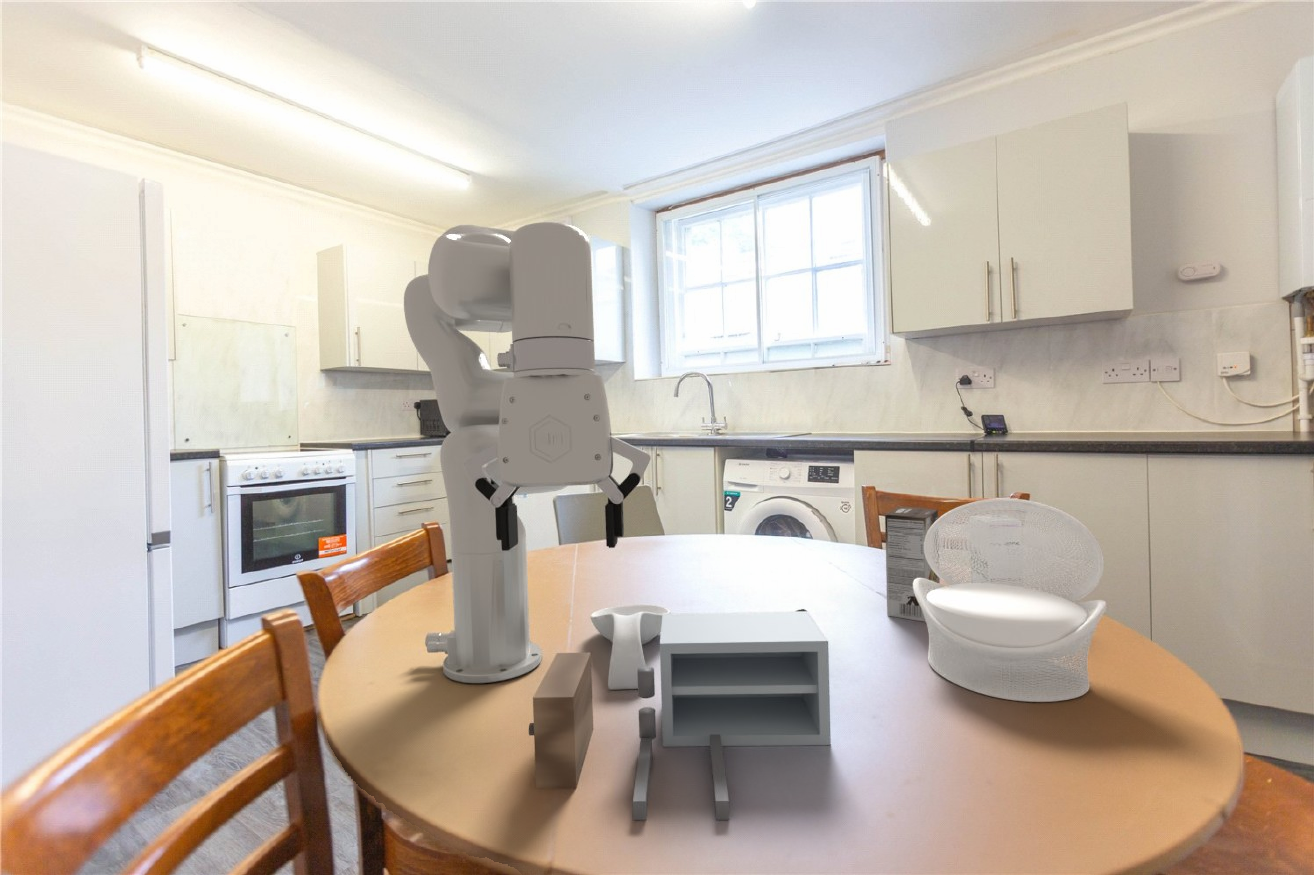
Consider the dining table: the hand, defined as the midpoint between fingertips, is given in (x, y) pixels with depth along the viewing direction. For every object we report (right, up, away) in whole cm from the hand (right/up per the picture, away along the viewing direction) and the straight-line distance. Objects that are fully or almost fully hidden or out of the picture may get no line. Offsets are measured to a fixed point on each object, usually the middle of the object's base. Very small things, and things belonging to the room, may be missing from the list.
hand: (561, 546), depth 56 cm
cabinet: (+16, -19, +1) cm, 25 cm away
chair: (+51, -18, +16) cm, 57 cm away
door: (+1, -20, 0) cm, 20 cm away
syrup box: (+64, -17, +41) cm, 78 cm away
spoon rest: (+5, -20, +26) cm, 33 cm away
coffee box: (+50, -18, +40) cm, 66 cm away
